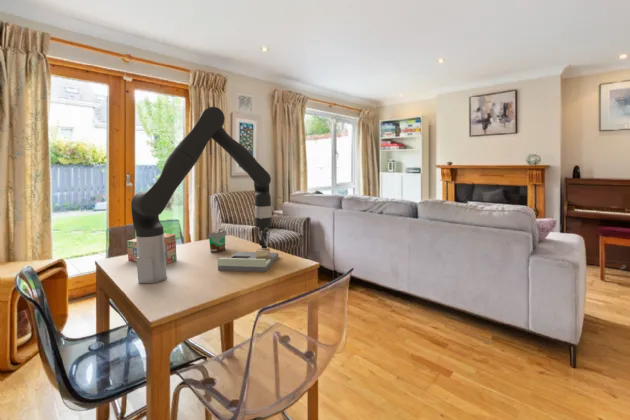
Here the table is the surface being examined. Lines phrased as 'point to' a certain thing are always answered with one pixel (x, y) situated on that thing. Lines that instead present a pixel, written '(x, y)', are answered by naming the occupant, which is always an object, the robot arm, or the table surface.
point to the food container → (217, 241)
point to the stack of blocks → (168, 242)
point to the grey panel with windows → (246, 262)
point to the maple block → (263, 253)
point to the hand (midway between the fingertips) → (264, 253)
